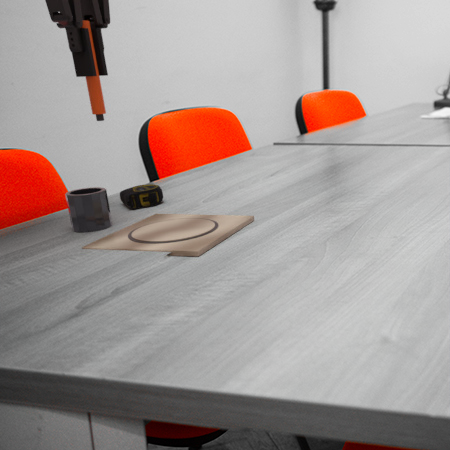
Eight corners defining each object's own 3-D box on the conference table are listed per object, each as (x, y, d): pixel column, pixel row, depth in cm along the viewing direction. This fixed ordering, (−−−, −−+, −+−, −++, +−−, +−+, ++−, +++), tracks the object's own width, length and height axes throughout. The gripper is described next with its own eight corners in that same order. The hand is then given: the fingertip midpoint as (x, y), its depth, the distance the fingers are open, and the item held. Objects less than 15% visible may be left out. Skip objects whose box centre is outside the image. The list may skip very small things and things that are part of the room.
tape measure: (120, 207, 106) (117, 187, 105) (159, 200, 110) (156, 181, 109) (128, 214, 101) (125, 193, 100) (168, 207, 105) (165, 187, 104)
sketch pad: (82, 252, 81) (80, 245, 81) (156, 218, 98) (155, 212, 98) (198, 256, 78) (197, 249, 77) (254, 220, 95) (253, 214, 94)
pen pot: (65, 235, 89) (56, 195, 87) (90, 225, 95) (83, 187, 93) (96, 236, 88) (88, 195, 86) (120, 226, 94) (113, 187, 92)
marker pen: (91, 121, 84) (72, 20, 80) (99, 120, 86) (81, 21, 82) (101, 121, 84) (83, 20, 80) (109, 119, 85) (92, 20, 81)
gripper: (41, -125, 69) (79, 77, 75) (119, -95, 83) (145, 73, 89) (-13, -119, 70) (30, 79, 77) (73, -91, 84) (103, 74, 91)
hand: (92, 75), depth 83 cm, fingers closed on marker pen, 2 cm apart
